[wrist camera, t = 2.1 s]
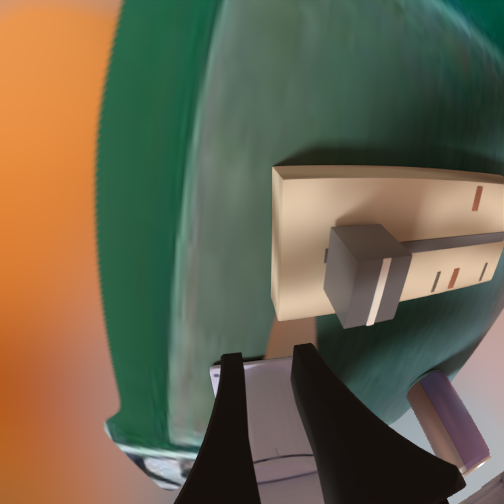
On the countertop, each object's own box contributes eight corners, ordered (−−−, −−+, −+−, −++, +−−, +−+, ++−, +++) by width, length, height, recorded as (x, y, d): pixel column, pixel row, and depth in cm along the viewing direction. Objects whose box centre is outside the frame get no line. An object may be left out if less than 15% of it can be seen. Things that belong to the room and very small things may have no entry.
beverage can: (436, 362, 31) (491, 456, 18) (446, 373, 33) (493, 456, 21) (398, 390, 32) (444, 487, 20) (412, 399, 35) (453, 483, 22)
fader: (368, 282, 18) (393, 320, 15) (323, 289, 18) (344, 330, 15) (379, 223, 16) (413, 255, 13) (330, 226, 16) (359, 262, 13)
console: (475, 265, 23) (491, 280, 21) (270, 296, 21) (278, 322, 19) (500, 175, 19) (521, 186, 16) (272, 166, 16) (283, 180, 14)
